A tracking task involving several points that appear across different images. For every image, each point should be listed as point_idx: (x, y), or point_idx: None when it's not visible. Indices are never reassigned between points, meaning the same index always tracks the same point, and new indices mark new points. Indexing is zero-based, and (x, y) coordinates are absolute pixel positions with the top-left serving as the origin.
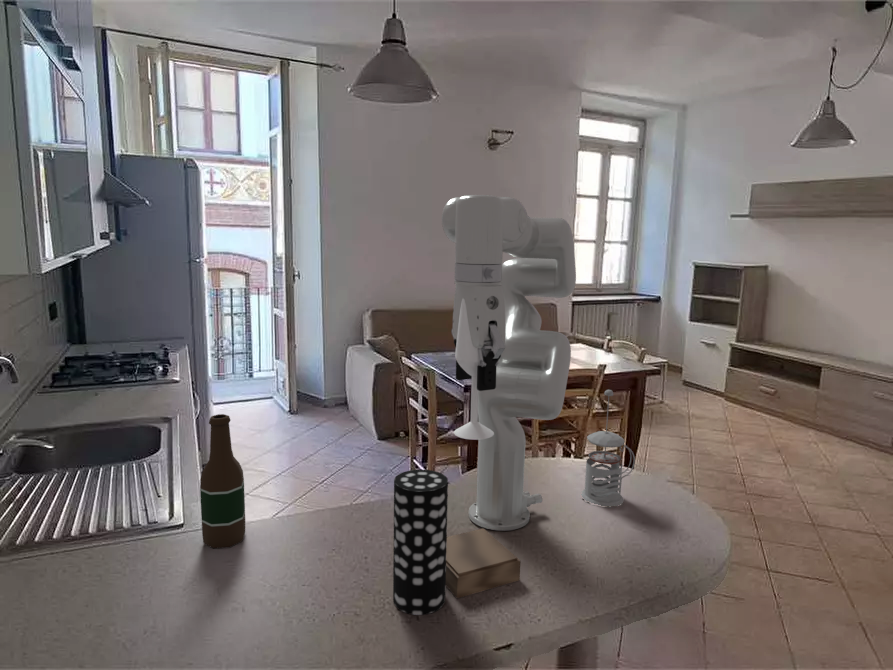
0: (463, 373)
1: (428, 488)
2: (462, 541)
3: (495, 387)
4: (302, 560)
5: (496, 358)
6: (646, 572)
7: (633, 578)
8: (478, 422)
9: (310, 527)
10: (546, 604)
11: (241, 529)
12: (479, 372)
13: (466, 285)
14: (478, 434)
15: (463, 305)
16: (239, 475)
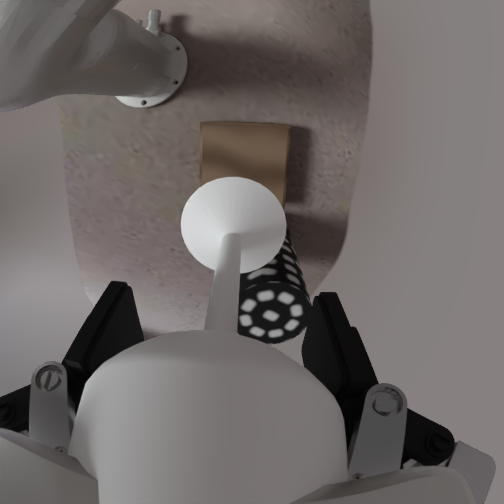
0: (132, 342)
1: (302, 318)
2: (221, 167)
3: (336, 294)
4: (159, 297)
5: (426, 433)
6: (340, 7)
7: (343, 24)
8: (236, 230)
9: (104, 275)
10: (335, 129)
11: None
12: None
13: None
14: (271, 241)
15: None
16: None
